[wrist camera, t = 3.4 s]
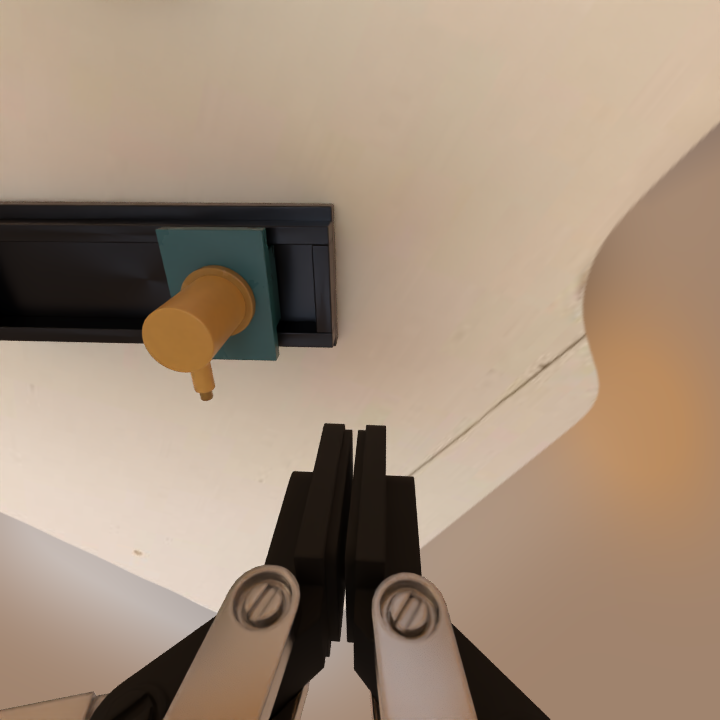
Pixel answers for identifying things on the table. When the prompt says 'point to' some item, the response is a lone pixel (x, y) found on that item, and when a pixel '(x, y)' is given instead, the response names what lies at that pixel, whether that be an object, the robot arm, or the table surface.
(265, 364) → the table surface
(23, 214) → the black rectangular tray
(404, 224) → the table surface
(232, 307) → the nozzle
